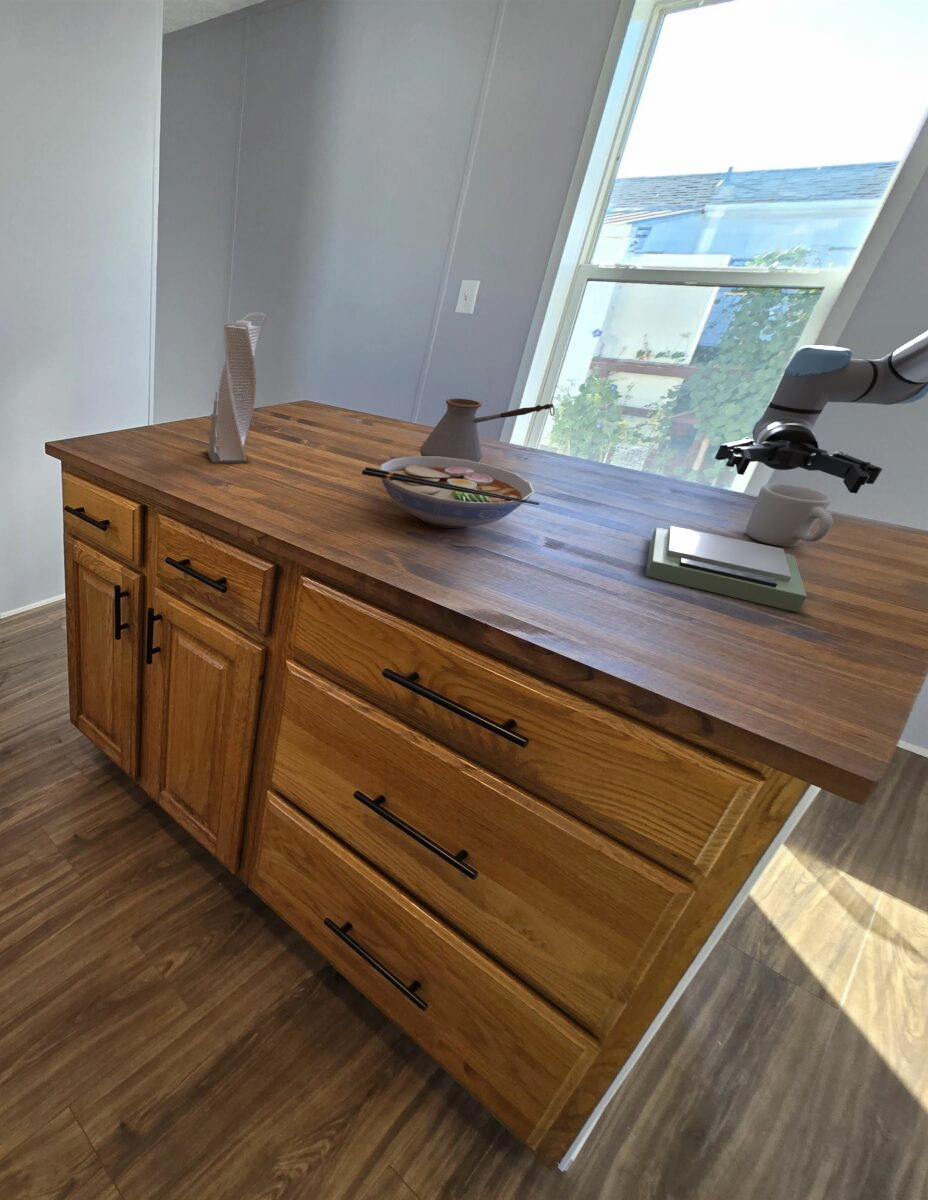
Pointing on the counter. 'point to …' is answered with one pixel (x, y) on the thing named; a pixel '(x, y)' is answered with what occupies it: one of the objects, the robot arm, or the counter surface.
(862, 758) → the counter surface
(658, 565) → the scale
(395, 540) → the counter surface
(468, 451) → the coffee pot
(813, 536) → the cup
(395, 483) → the ramen bowl
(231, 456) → the skyscraper
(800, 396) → the robot arm
